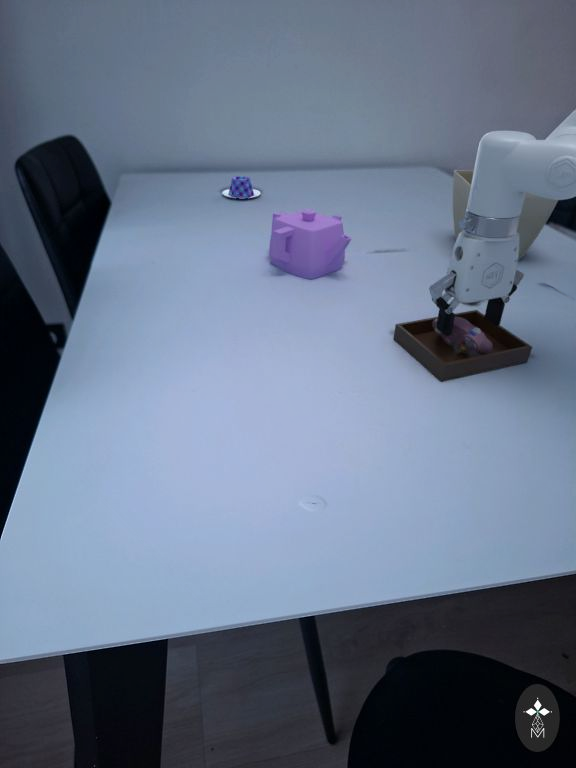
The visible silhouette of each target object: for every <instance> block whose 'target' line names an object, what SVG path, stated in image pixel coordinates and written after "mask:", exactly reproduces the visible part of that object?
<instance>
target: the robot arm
mask: <svg viewBox="0 0 576 768" xmlns="http://www.w3.org/2000/svg"><path fill="white" fill-rule="evenodd" d="M473 170H474V173H473V178H472V183H471V189H470V194H469V199H468V204H467V209H466V215H465V219H464V220H461V221H460V223H459V226H460V228H461V229H463V230H462V232H460V233H459V235H458V238H457V240H456V239H455V243H454V246H453V249H452V251H451V254H450V259H449V262H448V266H447V271H446V275H444V276H443V277H441V278H439V279H438V280H437V281H436V282H433V283H432V284H430V286H429V288H428V290H429V293H430V296H431V301H432V302H433V303H434V304H435V306H436V307H437V308H438V314H437V317H438V319H437V326H436V328H437V329H438V330H439V331H440V332H442V333H443V334H444V335H446V336H450V335H451V333H452V328H453V323H454V318H455V314H456V313H455V312H454V311H455V310H456V308H457V307H458V306H459V305H460V304H461V303H462V304H473V302H474V303H479V302H484V301H487V304H486V307H485V312H484V315H485V316H484V318H485V319H486V320H487V321H489V322H490V323H492V324H493V325H495V326H498V325H500V326H501V322H502V318H503V314H504V310H505V307H506V304H508V303H509V302H510V301H511V300H510V299H511V296H512V295H513V294H514V293H515V292H516V291H517V289H518V286H519V285H520V283H521V281H522V280H523V278H524V276H525V274H524V272H522V271H520V270H518V269H517V267H518V262H519V260H518V254H519V233H517V232H516V231H517V227H518V223H519V219H520V214H521V210H522V206H523V202H524V198H525V194H526V193H529V194H533V195H537V196H540V197H544V198H548V199H554V200H558V201H564V200H569V199H573V198H575V197H576V108H575V109H574V110H573V111H572V112H571V113H570V114H569V115H568V116H567V117H566V118H565V119H564V120H563V121H562V122H561V123H559V125H558V126H557V127H555V129H554V130H553V131H552V132H551V133H550V134H549V135H548V136H547V137H546V138H545V139H537V138H536V137H535V136H534V135H532V134H530V133H528V132H524V131H518V130H493V131H489V132H486V133H485V134H484V135H483V136H482V137H481V139H480V141H479V143H478V147H477V153H476V158H475V163H474V167H473ZM443 292H444V293H443ZM450 300H451V301H450ZM449 301H450V302H449ZM448 302H449V303H448Z"/></svg>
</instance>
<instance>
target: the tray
mask: <svg viewBox="0 0 576 768" xmlns="http://www.w3.org/2000/svg"><path fill="white" fill-rule="evenodd" d="M454 314H455V317H460V318H464V319H466V320H467V321H469V322H470V323H471V324H472V325H473V326H474V327H477V328H479V329H480V330H481V331H482V332H483V333H484V334H485V336H486V338H487V339H488V340H489V341H490V342H491V343H492V345H493V348H492V351H491V353H490V354H486V355H481V354H479V353H478V352H476V351H470V352H469V353H464V352H462V351H461V350H460V349H459V347H458V344H459V343H460V342H461V339H460V338H458V337H457V340H458V341H457V342H456V343H455V344H454V345H452V346H451V345H448V344H447V343H446V342H445V341H444V340H443V338H442V337H441V336H440V335H439V334H438V333H436V332H435V330H434V328H433V326H432V322H433V321H434V320H435V319H436V318H438V316H434V317H428V318H422V319H417V320H411V321H405V322H399V323H396V324H395V327H394V333H393V341H395V342H396V343H397V344H398V345H399V346H400V347H401V348H402V349H404V351H406V352H407V353H408V354H409V355H411V357H412V358H414V359H415V360H416V361H417V362H418V363H419V364H420V365H421V366H423V367H424V368H425V369H426V370H427V371H428V372H430V373H431V375H432V376H434V377H435V378H436V379H437V380H438V381H440V382H445V381H451V380H455V379H459V378H464V377H467V376H472V375H473V376H474V375H477V374H481V373H486V372H491V371H495V370H499V369H504V368H509V367H514V366H517V365H523V364H526V363H528V361H529V359H530V355H531V352H532V350H533V346H532V345H530V344H529V343H528V342H526V341H524V340H523V339H521V338H520V337H519V336H517V335H515V334H514V333H512V332H511V331H510V330H508V329H506V328H505V327H503V326H502V325H501V324H500V325H498V326H495V325H493V324H492V323H490V322H489V321H487V320H486V319H485V318H484V316H485V313H482V312H481V311H479V310H478V309H474V310H469V311H468V310H467V311H462V312H457V313H454Z"/></svg>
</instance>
